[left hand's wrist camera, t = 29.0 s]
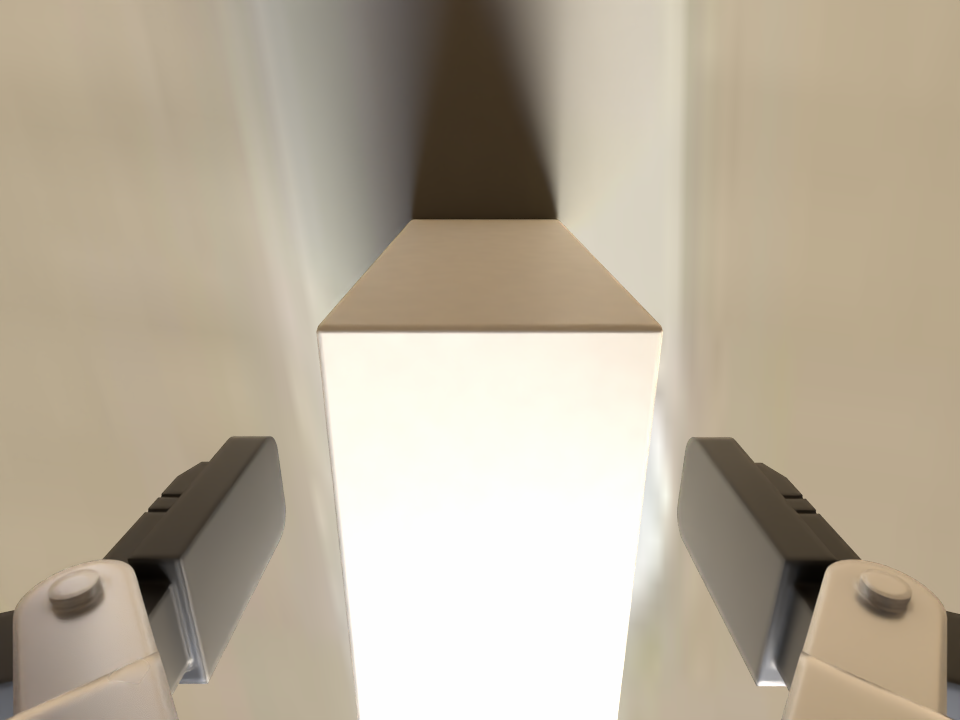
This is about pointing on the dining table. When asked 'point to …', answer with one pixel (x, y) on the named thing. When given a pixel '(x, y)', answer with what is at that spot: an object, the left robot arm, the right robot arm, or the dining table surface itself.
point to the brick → (488, 471)
